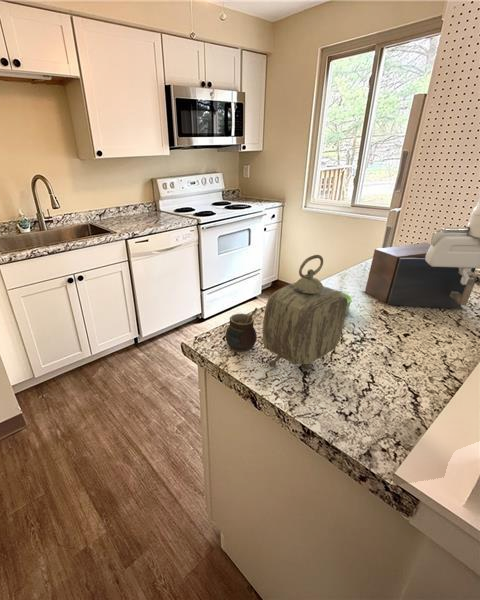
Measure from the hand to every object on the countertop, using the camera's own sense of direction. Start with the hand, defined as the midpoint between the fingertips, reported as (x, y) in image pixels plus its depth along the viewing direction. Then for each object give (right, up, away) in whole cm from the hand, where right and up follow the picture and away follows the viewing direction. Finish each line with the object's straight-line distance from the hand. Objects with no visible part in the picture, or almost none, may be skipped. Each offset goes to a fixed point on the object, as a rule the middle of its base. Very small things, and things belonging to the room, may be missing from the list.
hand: (472, 284), depth 74 cm
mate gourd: (-55, -15, +2) cm, 58 cm away
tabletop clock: (-45, -18, -6) cm, 49 cm away
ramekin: (-26, -7, +14) cm, 30 cm away
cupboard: (-2, -2, +19) cm, 19 cm away
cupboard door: (-3, -7, +9) cm, 12 cm away
